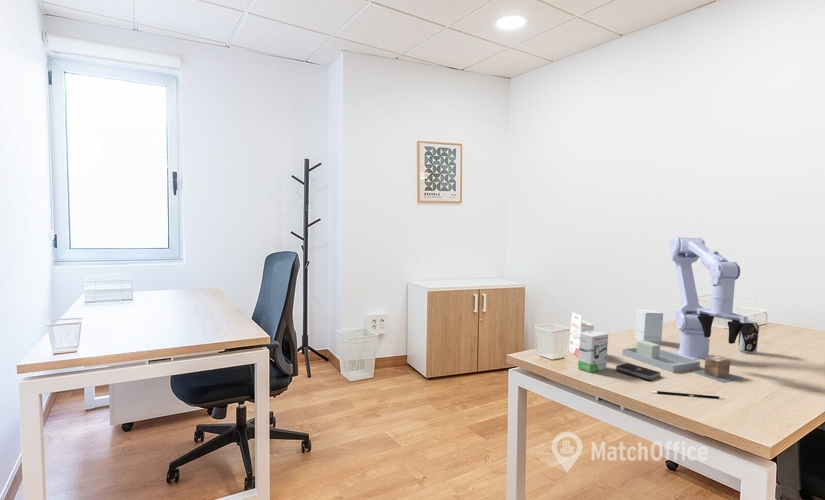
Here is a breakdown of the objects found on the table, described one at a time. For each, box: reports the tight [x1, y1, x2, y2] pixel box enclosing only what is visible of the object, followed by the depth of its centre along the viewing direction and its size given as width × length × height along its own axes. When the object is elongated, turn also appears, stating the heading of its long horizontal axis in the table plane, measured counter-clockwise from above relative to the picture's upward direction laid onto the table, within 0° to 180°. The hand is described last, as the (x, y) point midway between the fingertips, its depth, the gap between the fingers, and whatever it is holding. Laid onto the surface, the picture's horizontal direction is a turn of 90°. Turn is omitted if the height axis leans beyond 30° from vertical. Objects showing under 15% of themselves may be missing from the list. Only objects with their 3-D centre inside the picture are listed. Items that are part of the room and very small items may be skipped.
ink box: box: [577, 330, 609, 373], centre depth 143 cm, size 9×5×12 cm, turn 123°
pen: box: [650, 390, 726, 400], centre depth 123 cm, size 1×19×1 cm, turn 81°
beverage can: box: [737, 319, 760, 355], centre depth 167 cm, size 6×6×12 cm
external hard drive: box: [615, 362, 661, 382], centre depth 139 cm, size 7×11×2 cm, turn 35°
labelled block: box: [703, 355, 731, 378], centre depth 139 cm, size 4×6×5 cm, turn 115°
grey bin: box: [621, 346, 701, 373], centre depth 152 cm, size 13×19×2 cm
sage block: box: [636, 340, 661, 360], centre depth 156 cm, size 4×6×5 cm, turn 24°
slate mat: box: [690, 368, 744, 384], centre depth 139 cm, size 10×10×1 cm
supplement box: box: [634, 308, 664, 345], centre depth 178 cm, size 7×7×13 cm
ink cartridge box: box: [568, 311, 595, 358], centre depth 158 cm, size 9×5×15 cm, turn 5°
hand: (719, 340), depth 143 cm, fingers open, 7 cm apart
